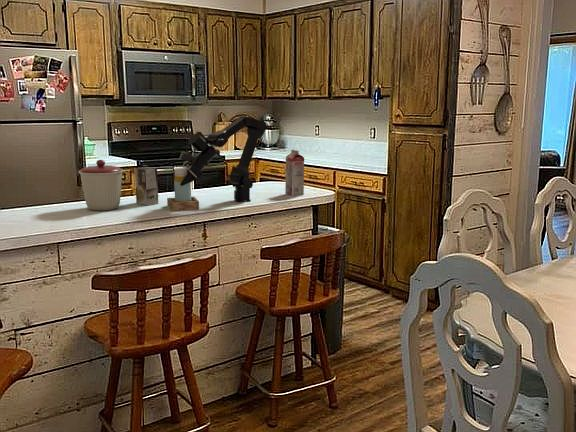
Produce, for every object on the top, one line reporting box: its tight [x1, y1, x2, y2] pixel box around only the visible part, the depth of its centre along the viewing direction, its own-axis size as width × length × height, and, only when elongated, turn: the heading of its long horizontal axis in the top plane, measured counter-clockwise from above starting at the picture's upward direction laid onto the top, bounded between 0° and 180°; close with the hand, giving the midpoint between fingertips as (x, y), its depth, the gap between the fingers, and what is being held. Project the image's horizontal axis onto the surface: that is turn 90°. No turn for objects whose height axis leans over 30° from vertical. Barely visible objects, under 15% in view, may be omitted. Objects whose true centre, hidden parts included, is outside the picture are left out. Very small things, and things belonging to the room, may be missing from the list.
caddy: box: [166, 196, 200, 212], centre depth 245 cm, size 12×12×4 cm
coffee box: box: [133, 166, 159, 206], centre depth 252 cm, size 9×6×16 cm
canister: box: [78, 159, 124, 212], centre depth 239 cm, size 18×18×21 cm
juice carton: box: [284, 149, 305, 197], centre depth 278 cm, size 7×7×22 cm
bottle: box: [173, 166, 192, 202], centre depth 244 cm, size 7×7×15 cm
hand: (179, 184), depth 243 cm, fingers closed on bottle, 7 cm apart
